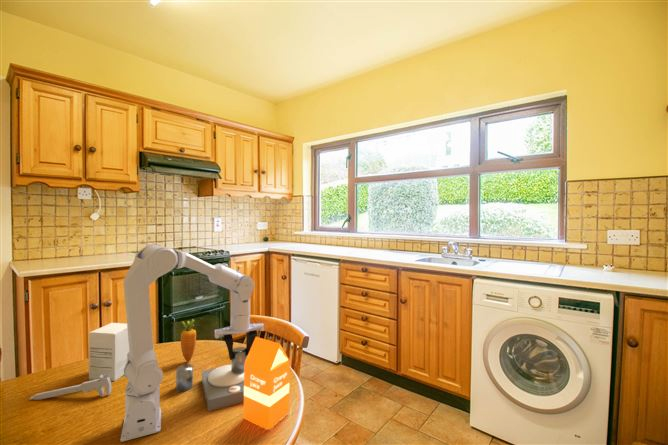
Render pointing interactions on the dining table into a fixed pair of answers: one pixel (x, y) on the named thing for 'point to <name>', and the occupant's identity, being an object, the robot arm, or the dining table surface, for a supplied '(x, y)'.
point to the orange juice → (266, 383)
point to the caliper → (79, 388)
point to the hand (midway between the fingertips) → (239, 356)
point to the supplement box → (108, 351)
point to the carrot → (188, 340)
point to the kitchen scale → (222, 387)
